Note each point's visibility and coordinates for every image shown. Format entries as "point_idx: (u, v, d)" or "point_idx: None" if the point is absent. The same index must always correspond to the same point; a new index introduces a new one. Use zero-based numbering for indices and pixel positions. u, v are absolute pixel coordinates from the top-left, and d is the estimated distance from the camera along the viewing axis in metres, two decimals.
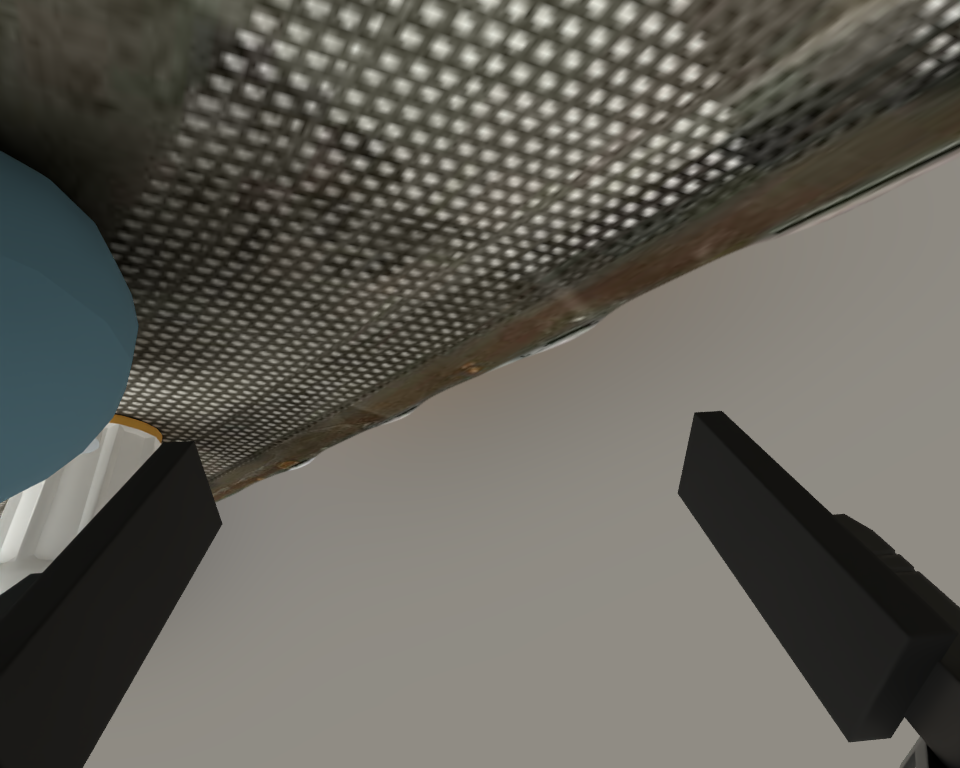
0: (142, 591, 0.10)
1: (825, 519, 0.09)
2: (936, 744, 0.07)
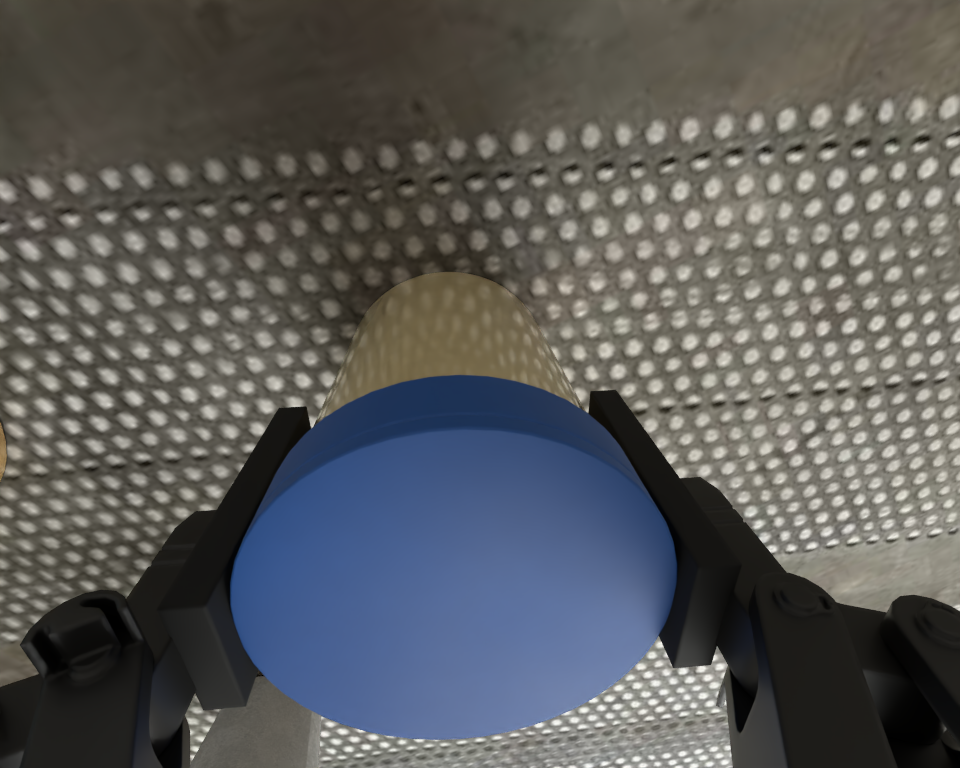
0: None
1: (669, 478, 0.10)
2: (736, 672, 0.08)
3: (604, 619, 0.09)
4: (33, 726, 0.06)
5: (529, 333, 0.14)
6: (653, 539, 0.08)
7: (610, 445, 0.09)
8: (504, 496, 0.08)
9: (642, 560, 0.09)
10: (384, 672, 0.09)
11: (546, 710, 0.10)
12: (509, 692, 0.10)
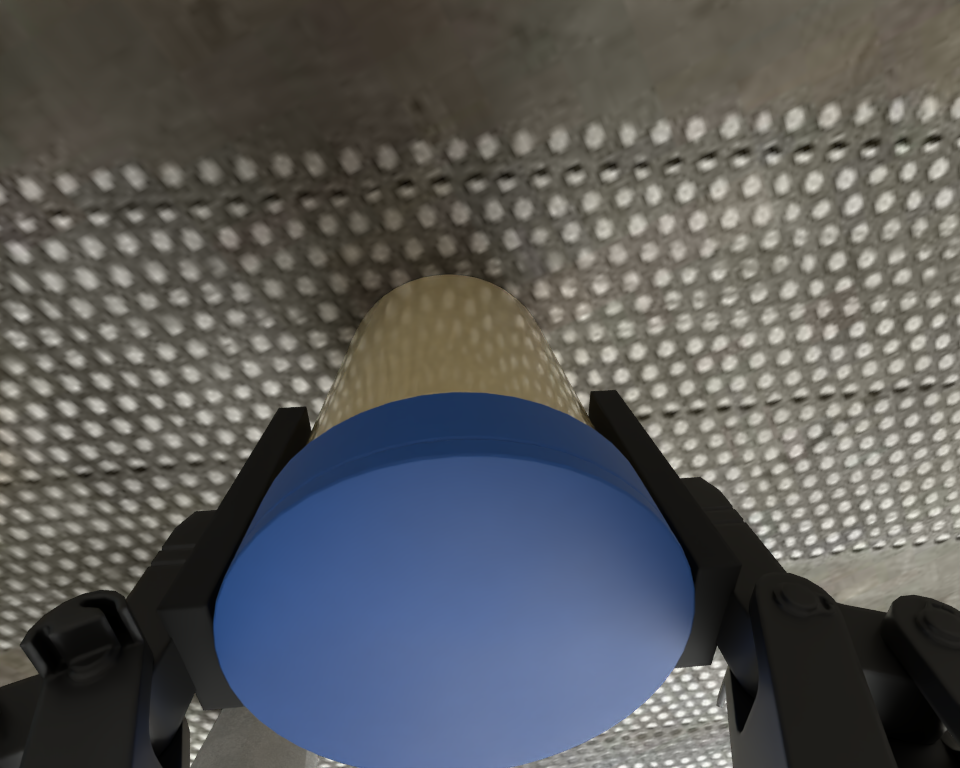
0: None
1: (669, 478, 0.10)
2: (736, 672, 0.08)
3: (455, 528, 0.07)
4: (33, 726, 0.06)
5: (532, 338, 0.13)
6: (307, 519, 0.07)
7: (253, 522, 0.08)
8: (292, 651, 0.08)
9: (344, 520, 0.07)
10: (556, 688, 0.09)
11: (646, 541, 0.07)
12: (601, 586, 0.08)
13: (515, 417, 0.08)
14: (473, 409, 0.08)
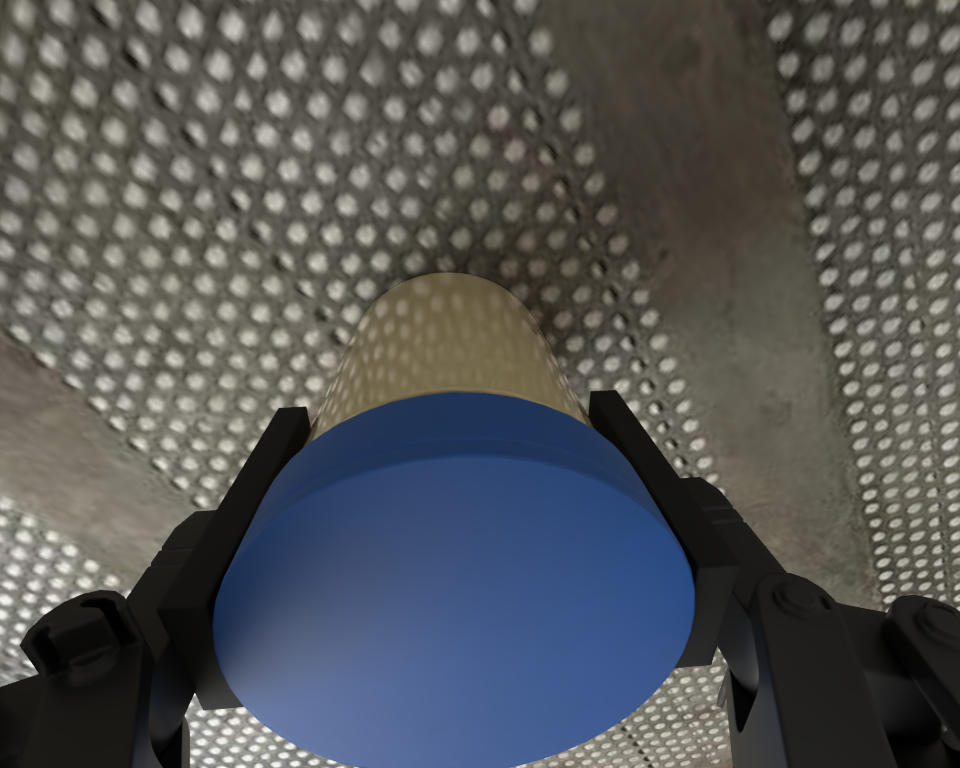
0: None
1: (669, 478, 0.10)
2: (736, 672, 0.08)
3: (456, 528, 0.07)
4: (33, 726, 0.06)
5: None
6: (308, 519, 0.07)
7: (252, 522, 0.08)
8: (292, 651, 0.08)
9: (344, 520, 0.07)
10: (556, 688, 0.09)
11: (647, 542, 0.07)
12: (602, 587, 0.08)
13: (516, 417, 0.08)
14: (474, 409, 0.08)
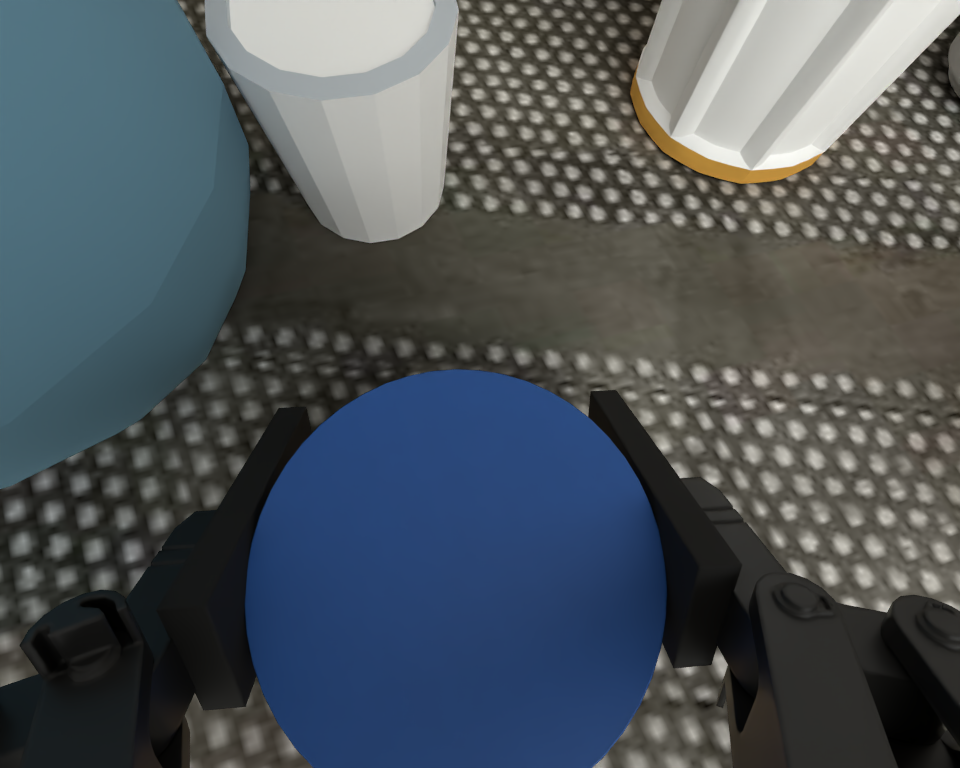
0: None
1: (669, 478, 0.10)
2: (736, 673, 0.08)
3: (314, 572, 0.09)
4: (33, 726, 0.06)
5: None
6: (286, 698, 0.09)
7: None
8: (444, 738, 0.08)
9: (291, 666, 0.09)
10: (520, 474, 0.10)
11: (349, 422, 0.10)
12: (393, 449, 0.10)
13: None
14: None
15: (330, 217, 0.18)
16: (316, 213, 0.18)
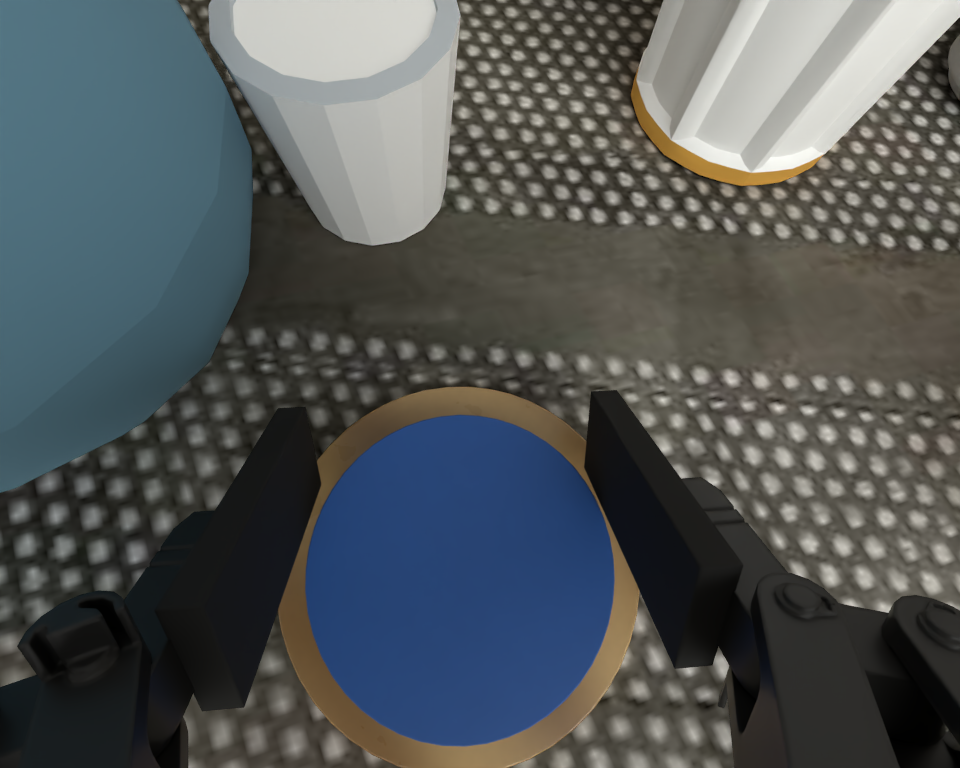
0: (282, 530, 0.11)
1: (670, 478, 0.10)
2: (738, 673, 0.08)
3: (355, 569, 0.13)
4: (31, 727, 0.06)
5: None
6: (337, 659, 0.12)
7: None
8: (451, 687, 0.12)
9: (341, 636, 0.12)
10: (507, 496, 0.13)
11: (379, 456, 0.13)
12: (412, 477, 0.13)
13: None
14: None
15: (332, 220, 0.18)
16: (318, 216, 0.18)
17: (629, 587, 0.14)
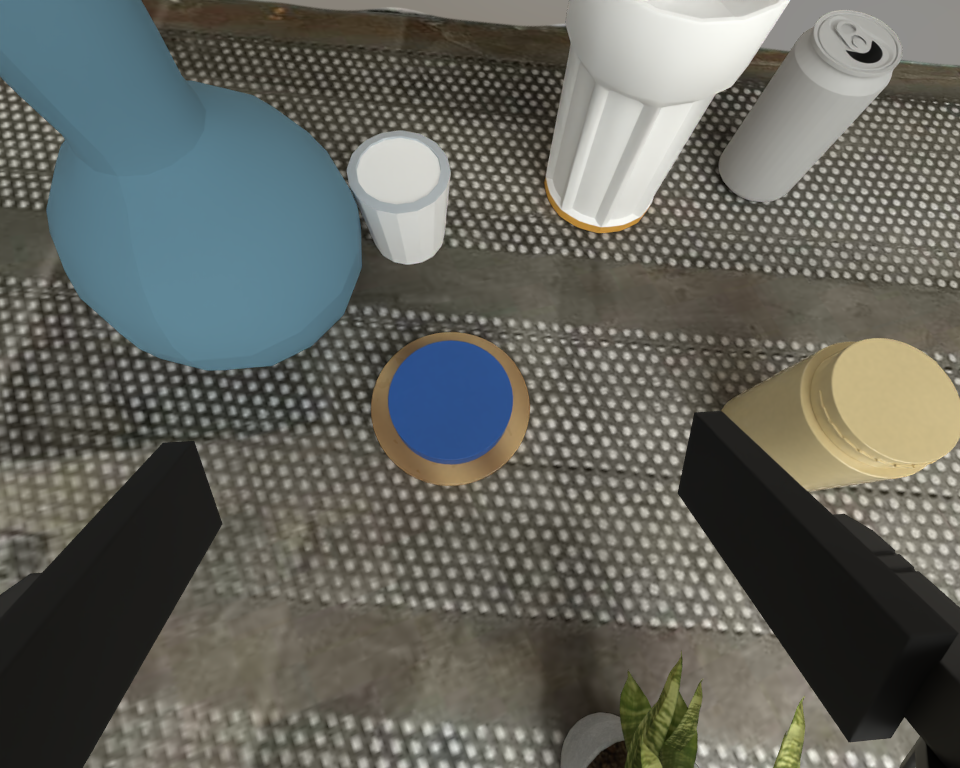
0: (142, 591, 0.10)
1: (825, 519, 0.09)
2: (936, 744, 0.07)
3: (408, 398, 0.31)
4: None
5: None
6: (402, 430, 0.30)
7: (416, 452, 0.31)
8: (446, 440, 0.30)
9: (403, 422, 0.31)
10: (470, 372, 0.32)
11: (416, 356, 0.32)
12: (430, 364, 0.32)
13: None
14: None
15: (389, 253, 0.36)
16: (381, 250, 0.37)
17: (524, 416, 0.33)
